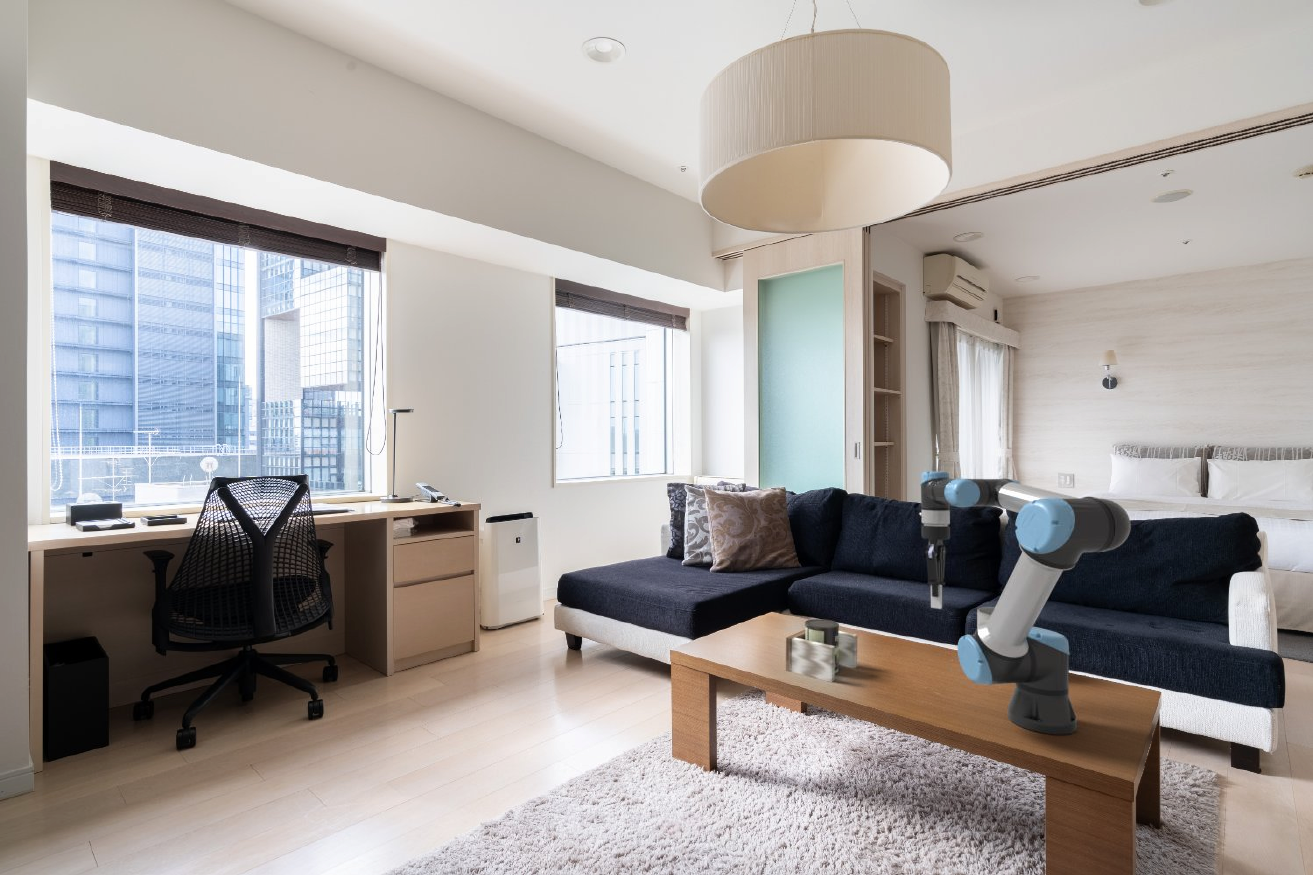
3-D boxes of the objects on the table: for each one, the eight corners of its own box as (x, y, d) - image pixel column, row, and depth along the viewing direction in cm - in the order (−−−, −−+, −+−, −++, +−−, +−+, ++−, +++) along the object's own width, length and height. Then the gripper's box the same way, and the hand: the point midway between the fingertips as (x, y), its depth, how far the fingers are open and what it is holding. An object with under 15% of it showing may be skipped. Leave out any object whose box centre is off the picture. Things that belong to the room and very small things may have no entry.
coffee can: (837, 664, 211) (837, 619, 211) (840, 675, 201) (840, 628, 201) (803, 662, 213) (804, 617, 213) (805, 672, 203) (805, 626, 203)
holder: (857, 666, 209) (857, 634, 209) (831, 681, 196) (831, 647, 196) (813, 656, 219) (813, 625, 219) (785, 670, 205) (786, 637, 205)
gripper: (928, 522, 200) (929, 602, 199) (915, 525, 190) (916, 609, 189) (954, 524, 196) (956, 605, 195) (943, 527, 185) (944, 613, 184)
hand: (936, 607), depth 192 cm, fingers closed
